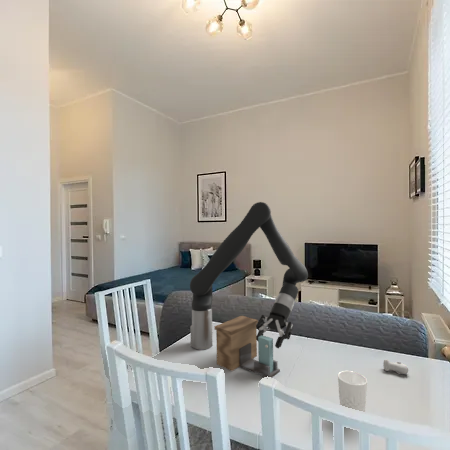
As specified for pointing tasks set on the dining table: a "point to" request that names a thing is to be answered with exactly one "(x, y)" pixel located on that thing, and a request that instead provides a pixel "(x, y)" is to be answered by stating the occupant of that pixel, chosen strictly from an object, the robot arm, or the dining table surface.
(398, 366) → the pale two-lobed sculpture
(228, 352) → the hinge cabinet
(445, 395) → the dining table surface
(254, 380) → the dining table surface
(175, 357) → the dining table surface
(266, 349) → the tall teal block
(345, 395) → the white cup
